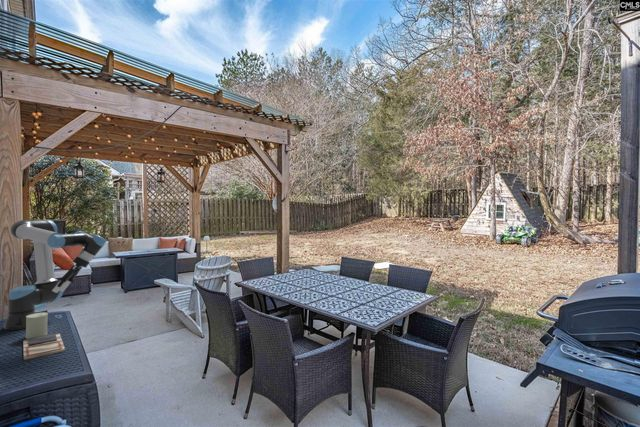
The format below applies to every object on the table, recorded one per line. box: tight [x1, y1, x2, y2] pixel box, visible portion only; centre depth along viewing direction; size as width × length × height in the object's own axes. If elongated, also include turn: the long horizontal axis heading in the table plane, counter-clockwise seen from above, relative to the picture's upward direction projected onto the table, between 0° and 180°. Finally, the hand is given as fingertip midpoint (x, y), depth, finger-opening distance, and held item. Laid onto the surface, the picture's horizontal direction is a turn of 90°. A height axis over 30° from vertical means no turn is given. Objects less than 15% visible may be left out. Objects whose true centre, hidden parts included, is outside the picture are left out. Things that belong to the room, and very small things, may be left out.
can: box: [24, 312, 49, 340], centre depth 177 cm, size 9×9×12 cm
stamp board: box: [22, 332, 66, 361], centre depth 163 cm, size 28×15×2 cm, turn 44°
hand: (57, 291), depth 181 cm, fingers open, 13 cm apart
